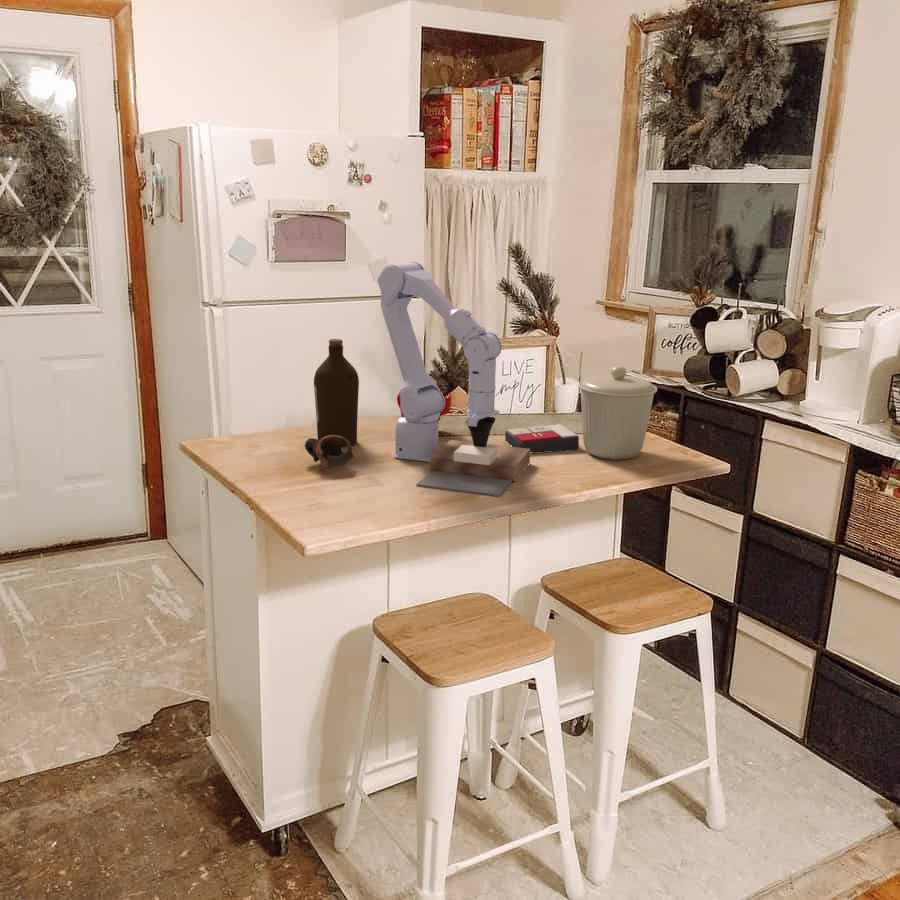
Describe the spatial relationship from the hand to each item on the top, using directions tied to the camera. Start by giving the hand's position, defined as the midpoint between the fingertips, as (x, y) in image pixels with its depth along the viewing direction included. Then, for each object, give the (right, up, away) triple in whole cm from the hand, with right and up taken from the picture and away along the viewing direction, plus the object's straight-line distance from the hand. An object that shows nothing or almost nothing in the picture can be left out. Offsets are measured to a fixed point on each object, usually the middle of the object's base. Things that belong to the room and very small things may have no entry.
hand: (479, 450), depth 197 cm
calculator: (+16, +1, +20) cm, 26 cm away
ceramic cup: (-14, +5, +30) cm, 34 cm away
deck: (0, -4, +2) cm, 5 cm away
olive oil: (-34, +2, +19) cm, 39 cm away
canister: (+32, -1, +15) cm, 35 cm away
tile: (-1, -2, -3) cm, 4 cm away
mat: (-4, -7, -9) cm, 12 cm away
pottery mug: (-33, -4, +1) cm, 34 cm away
